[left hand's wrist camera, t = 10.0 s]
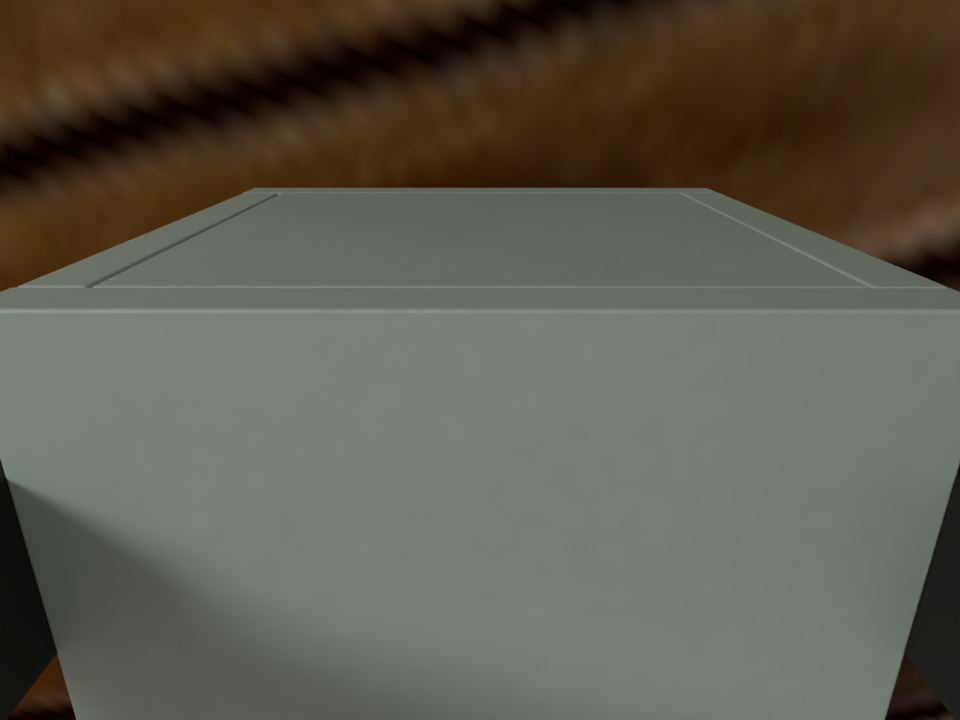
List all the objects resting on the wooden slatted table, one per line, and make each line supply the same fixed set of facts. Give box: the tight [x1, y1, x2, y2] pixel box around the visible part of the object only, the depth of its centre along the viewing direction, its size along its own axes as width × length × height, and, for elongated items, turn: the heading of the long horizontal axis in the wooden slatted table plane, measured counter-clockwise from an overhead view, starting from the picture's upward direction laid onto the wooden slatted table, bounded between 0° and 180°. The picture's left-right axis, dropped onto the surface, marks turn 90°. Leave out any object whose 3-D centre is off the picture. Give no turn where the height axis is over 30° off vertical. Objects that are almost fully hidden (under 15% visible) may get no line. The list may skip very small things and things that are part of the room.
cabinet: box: [0, 188, 960, 720], centre depth 16 cm, size 21×11×10 cm, turn 0°
